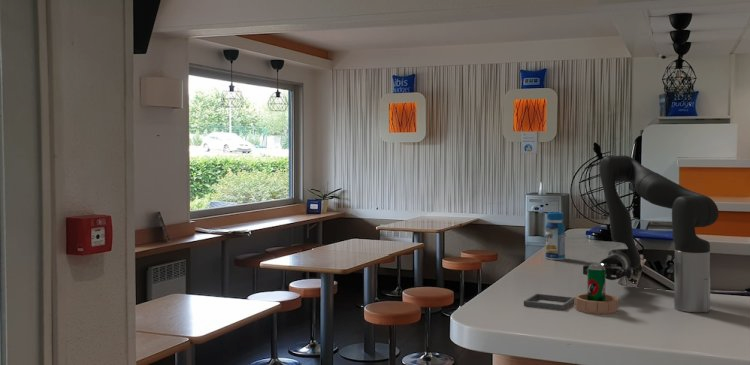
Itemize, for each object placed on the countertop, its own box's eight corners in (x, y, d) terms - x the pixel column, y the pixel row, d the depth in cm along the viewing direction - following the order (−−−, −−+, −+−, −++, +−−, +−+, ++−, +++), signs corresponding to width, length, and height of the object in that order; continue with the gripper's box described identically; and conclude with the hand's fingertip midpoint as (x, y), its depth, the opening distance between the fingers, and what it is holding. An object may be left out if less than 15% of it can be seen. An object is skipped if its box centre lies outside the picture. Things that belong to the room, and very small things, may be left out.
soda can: (606, 308, 193) (606, 267, 193) (588, 307, 194) (588, 266, 194) (603, 304, 198) (604, 264, 198) (586, 303, 199) (586, 263, 198)
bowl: (621, 307, 198) (622, 295, 198) (613, 316, 188) (613, 303, 188) (580, 303, 204) (581, 291, 204) (570, 311, 194) (570, 299, 194)
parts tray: (574, 302, 205) (574, 297, 205) (563, 310, 195) (563, 305, 195) (536, 298, 212) (536, 293, 211) (523, 305, 201) (523, 300, 201)
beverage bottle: (567, 260, 284) (567, 213, 283) (547, 260, 284) (547, 213, 283) (562, 257, 292) (562, 211, 291) (543, 257, 292) (543, 211, 292)
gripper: (591, 253, 220) (578, 260, 206) (637, 256, 212) (627, 264, 198) (591, 276, 220) (578, 284, 206) (637, 279, 213) (627, 289, 199)
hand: (602, 274), depth 202 cm, fingers open, 8 cm apart
